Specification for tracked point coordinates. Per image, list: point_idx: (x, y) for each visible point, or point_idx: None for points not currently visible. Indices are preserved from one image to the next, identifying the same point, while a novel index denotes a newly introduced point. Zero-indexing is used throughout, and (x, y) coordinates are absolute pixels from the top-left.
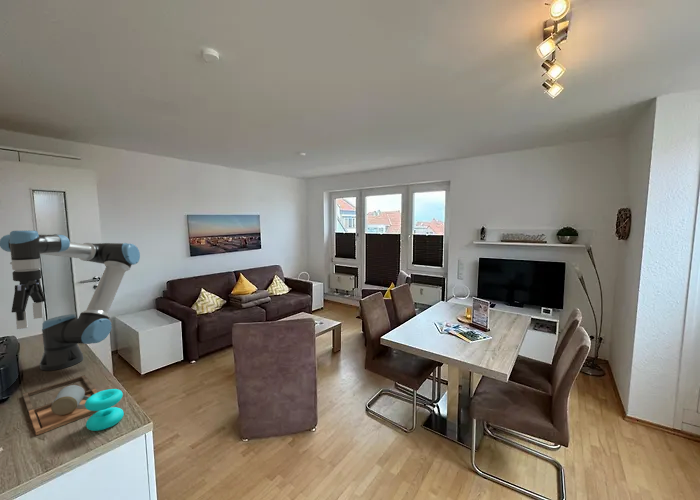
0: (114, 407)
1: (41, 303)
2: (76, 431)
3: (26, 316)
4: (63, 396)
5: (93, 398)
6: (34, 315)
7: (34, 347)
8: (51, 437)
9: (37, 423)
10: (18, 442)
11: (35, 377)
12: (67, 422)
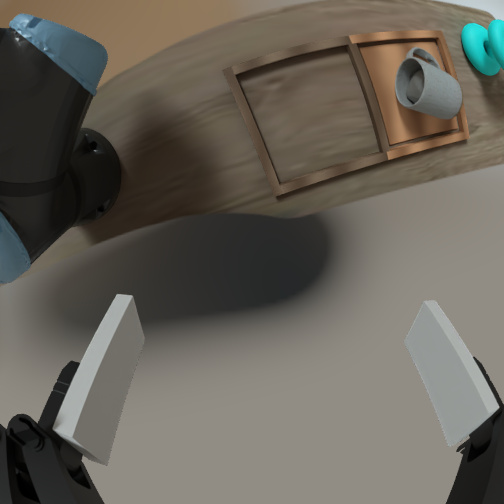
0: (478, 31)
1: (75, 427)
2: (481, 86)
3: (474, 369)
4: (460, 99)
5: None
6: (135, 357)
7: None
8: (479, 117)
9: (447, 138)
10: (467, 158)
11: (152, 206)
12: None
